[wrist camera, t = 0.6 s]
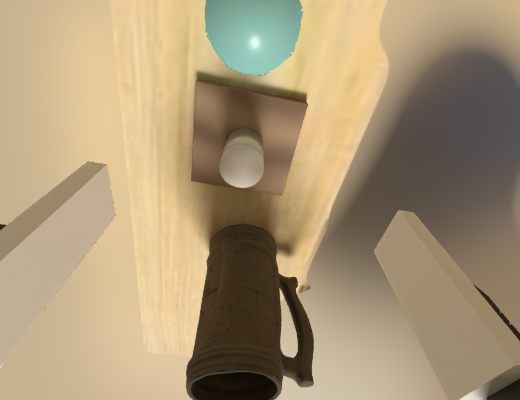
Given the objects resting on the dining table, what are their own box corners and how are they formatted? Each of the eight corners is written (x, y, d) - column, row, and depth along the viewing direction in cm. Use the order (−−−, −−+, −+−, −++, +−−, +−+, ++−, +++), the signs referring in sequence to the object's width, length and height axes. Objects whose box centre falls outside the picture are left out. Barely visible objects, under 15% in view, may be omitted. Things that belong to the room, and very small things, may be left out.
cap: (221, -35, 22) (208, -58, 16) (300, -15, 23) (314, -30, 17) (214, 56, 26) (201, 64, 20) (281, 71, 27) (287, 83, 21)
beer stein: (202, 267, 43) (180, 415, 27) (208, 218, 37) (186, 369, 21) (288, 274, 46) (316, 413, 30) (307, 230, 40) (354, 372, 24)
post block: (198, 79, 27) (181, 93, 21) (306, 102, 29) (318, 120, 23) (192, 177, 34) (179, 207, 28) (281, 191, 35) (285, 223, 29)
